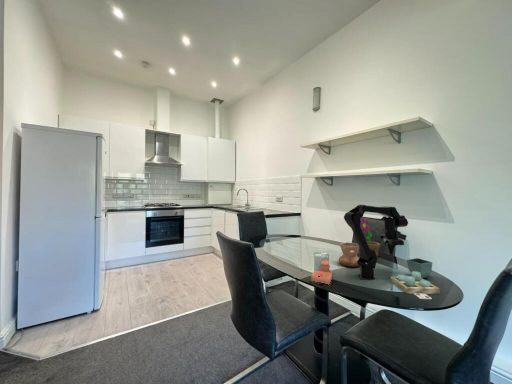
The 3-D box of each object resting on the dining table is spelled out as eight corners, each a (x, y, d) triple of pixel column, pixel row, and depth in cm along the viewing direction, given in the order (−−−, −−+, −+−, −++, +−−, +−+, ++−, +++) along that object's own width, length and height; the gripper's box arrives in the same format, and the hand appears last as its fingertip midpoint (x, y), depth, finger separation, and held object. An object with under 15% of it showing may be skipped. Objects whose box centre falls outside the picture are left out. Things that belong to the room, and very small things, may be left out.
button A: (400, 285, 115) (400, 277, 115) (396, 282, 119) (396, 274, 119) (408, 285, 115) (408, 277, 115) (404, 282, 119) (403, 274, 119)
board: (406, 293, 106) (406, 288, 106) (390, 281, 121) (390, 276, 121) (440, 293, 105) (439, 288, 105) (419, 281, 120) (419, 276, 120)
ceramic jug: (365, 269, 140) (364, 247, 141) (340, 268, 143) (340, 246, 144) (358, 261, 158) (357, 241, 158) (336, 260, 161) (336, 241, 161)
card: (420, 298, 101) (420, 297, 101) (413, 294, 106) (413, 293, 106) (432, 299, 100) (432, 298, 100) (424, 294, 105) (424, 293, 105)
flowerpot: (355, 254, 174) (354, 216, 175) (371, 253, 177) (370, 215, 177) (368, 259, 160) (366, 218, 161) (385, 258, 163) (384, 217, 163)
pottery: (328, 286, 117) (328, 267, 117) (311, 283, 122) (310, 265, 122) (335, 275, 133) (334, 258, 133) (319, 272, 137) (318, 256, 138)
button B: (408, 287, 108) (407, 278, 108) (403, 283, 112) (403, 275, 112) (416, 287, 108) (416, 279, 108) (411, 283, 112) (411, 275, 112)
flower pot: (421, 280, 121) (420, 263, 121) (406, 274, 130) (406, 259, 130) (433, 278, 124) (432, 262, 124) (418, 273, 132) (417, 258, 132)
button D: (423, 291, 107) (423, 283, 107) (418, 287, 111) (418, 279, 111) (432, 291, 107) (432, 283, 107) (426, 288, 111) (426, 280, 111)
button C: (414, 281, 114) (414, 273, 114) (410, 278, 118) (409, 271, 118) (422, 281, 114) (422, 273, 114) (418, 278, 118) (417, 271, 118)
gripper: (413, 230, 121) (414, 258, 121) (395, 225, 140) (396, 250, 140) (392, 230, 123) (393, 258, 122) (377, 225, 141) (378, 250, 141)
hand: (390, 254), depth 131 cm, fingers closed
